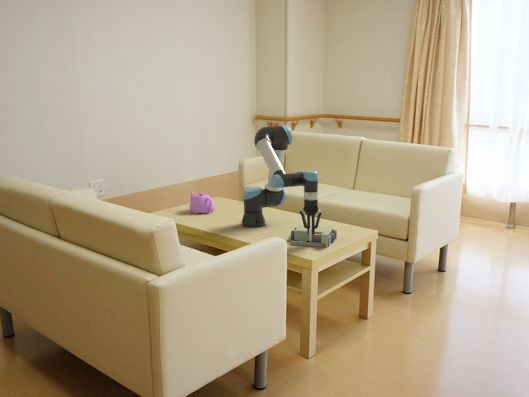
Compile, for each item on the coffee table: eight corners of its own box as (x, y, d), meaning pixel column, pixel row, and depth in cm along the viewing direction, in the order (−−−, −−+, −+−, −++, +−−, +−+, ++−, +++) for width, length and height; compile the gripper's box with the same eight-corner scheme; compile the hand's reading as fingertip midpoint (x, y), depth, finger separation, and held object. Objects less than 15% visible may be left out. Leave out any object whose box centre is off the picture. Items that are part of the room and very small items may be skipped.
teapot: (222, 211, 395) (221, 192, 392) (202, 216, 383) (201, 196, 380) (199, 206, 412) (199, 188, 410) (180, 211, 400) (179, 192, 397)
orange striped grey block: (312, 244, 310) (312, 235, 309) (314, 242, 315) (314, 232, 314) (326, 245, 308) (326, 236, 307) (328, 243, 312) (328, 233, 311)
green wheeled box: (286, 244, 313) (286, 232, 311) (296, 234, 332) (296, 223, 330) (329, 247, 305) (329, 235, 304) (336, 237, 324) (336, 225, 323)
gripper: (297, 199, 306) (298, 241, 311) (320, 200, 302) (320, 242, 307) (301, 197, 313) (301, 237, 318) (323, 198, 309) (323, 239, 314)
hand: (311, 240), depth 312 cm, fingers closed
